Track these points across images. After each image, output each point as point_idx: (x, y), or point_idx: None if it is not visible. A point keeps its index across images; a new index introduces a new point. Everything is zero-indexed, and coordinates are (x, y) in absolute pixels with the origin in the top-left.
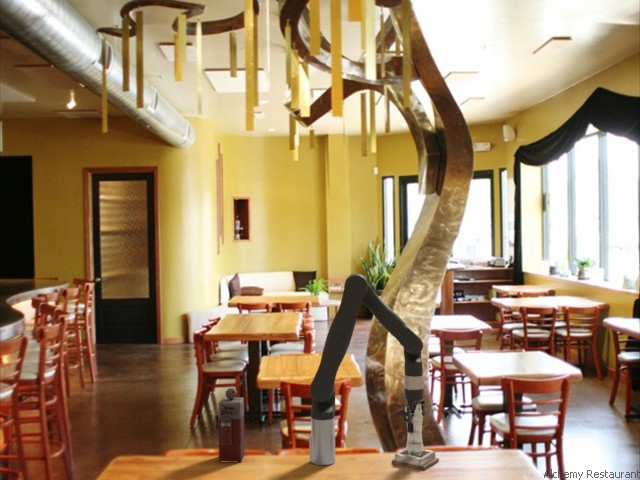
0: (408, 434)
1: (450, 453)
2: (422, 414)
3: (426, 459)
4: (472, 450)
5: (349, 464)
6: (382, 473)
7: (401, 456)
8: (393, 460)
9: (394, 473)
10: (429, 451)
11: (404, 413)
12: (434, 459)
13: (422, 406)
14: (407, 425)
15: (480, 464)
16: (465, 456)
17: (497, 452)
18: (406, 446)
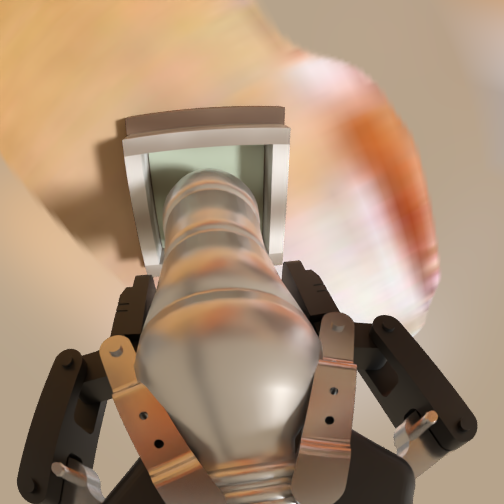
0: (169, 244)
1: (373, 240)
2: (359, 366)
3: None
4: (411, 272)
5: (27, 13)
6: (24, 171)
7: (128, 177)
8: (128, 126)
9: (52, 203)
10: (269, 247)
11: (38, 435)
12: None
13: (400, 422)
14: (113, 323)
15: None
16: (359, 285)
17: (406, 316)
18: (182, 183)
